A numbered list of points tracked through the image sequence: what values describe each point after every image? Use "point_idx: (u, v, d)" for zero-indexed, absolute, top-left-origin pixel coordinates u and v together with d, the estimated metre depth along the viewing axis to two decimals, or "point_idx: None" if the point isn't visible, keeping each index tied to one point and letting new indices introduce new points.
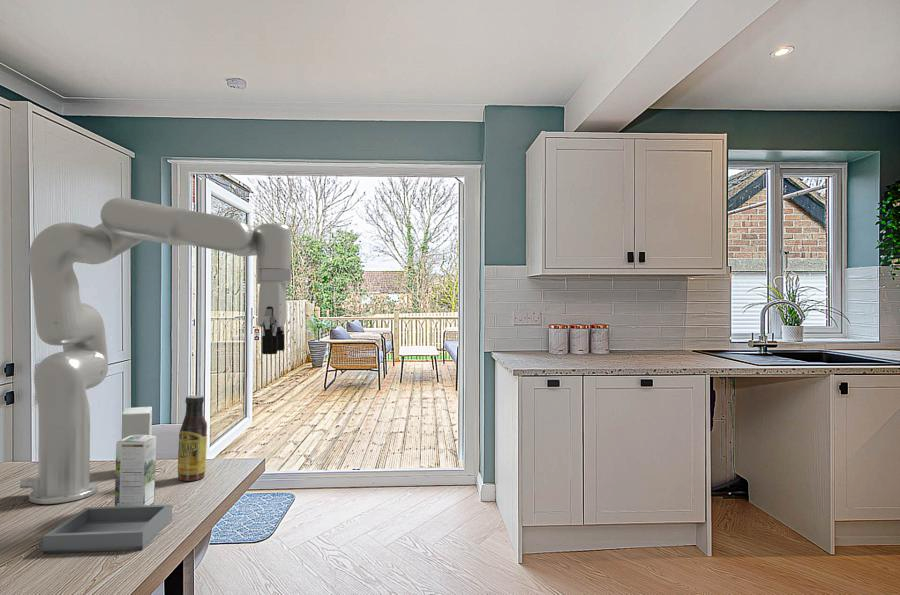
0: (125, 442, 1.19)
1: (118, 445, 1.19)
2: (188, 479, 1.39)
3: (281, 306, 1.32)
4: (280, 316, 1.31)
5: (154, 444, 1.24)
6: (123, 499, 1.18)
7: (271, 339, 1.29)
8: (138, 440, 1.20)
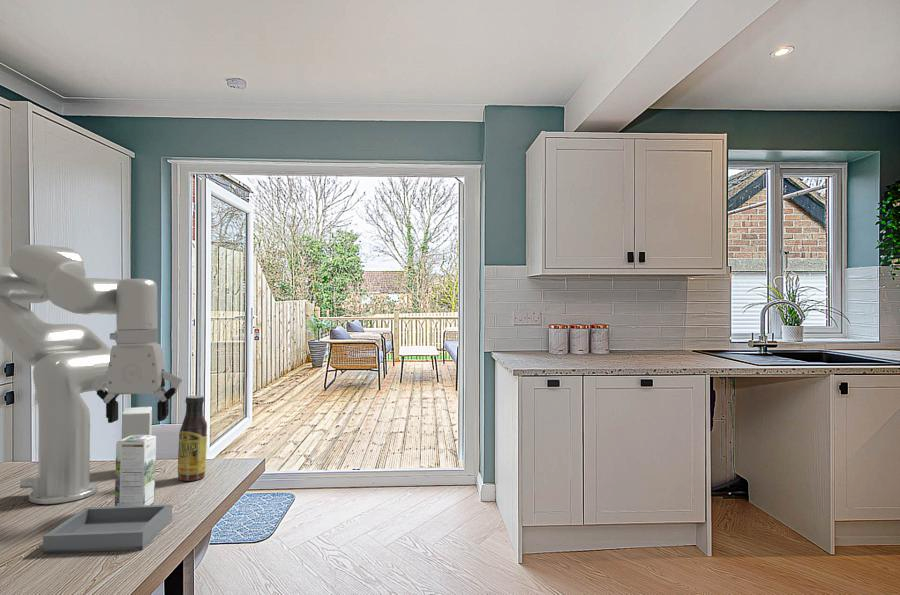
0: (125, 442, 1.19)
1: (118, 445, 1.19)
2: (188, 479, 1.39)
3: None
4: None
5: (154, 444, 1.24)
6: (123, 499, 1.18)
7: (168, 403, 1.23)
8: (138, 440, 1.20)
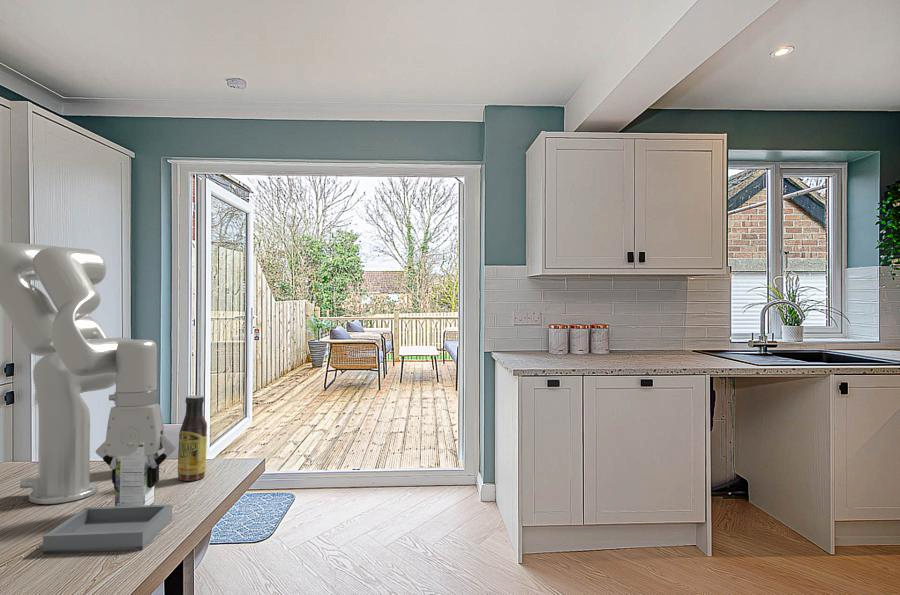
0: None
1: None
2: (188, 479, 1.39)
3: None
4: None
5: None
6: (123, 499, 1.18)
7: (158, 469, 1.22)
8: None
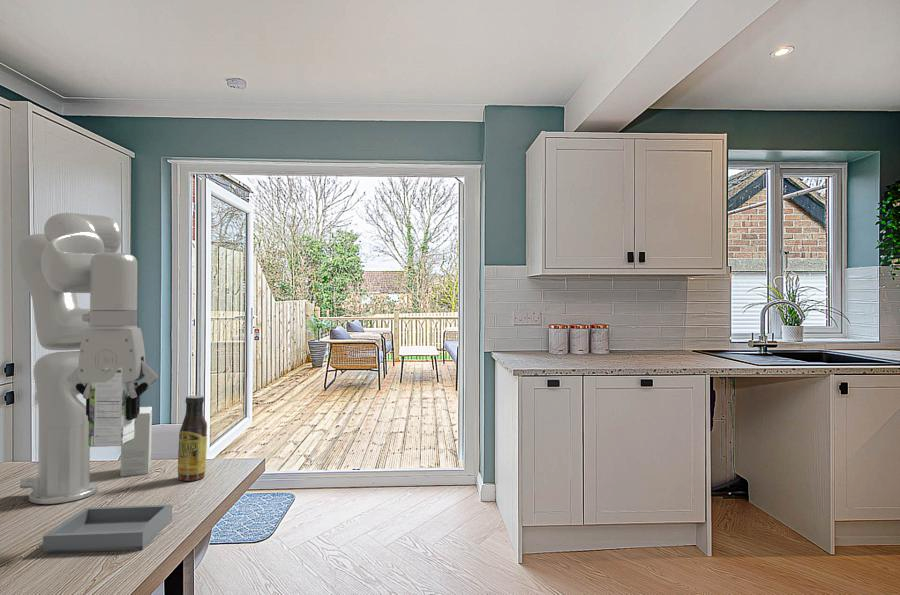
0: None
1: None
2: (188, 479, 1.39)
3: None
4: None
5: None
6: (98, 431, 1.04)
7: (139, 400, 1.08)
8: None
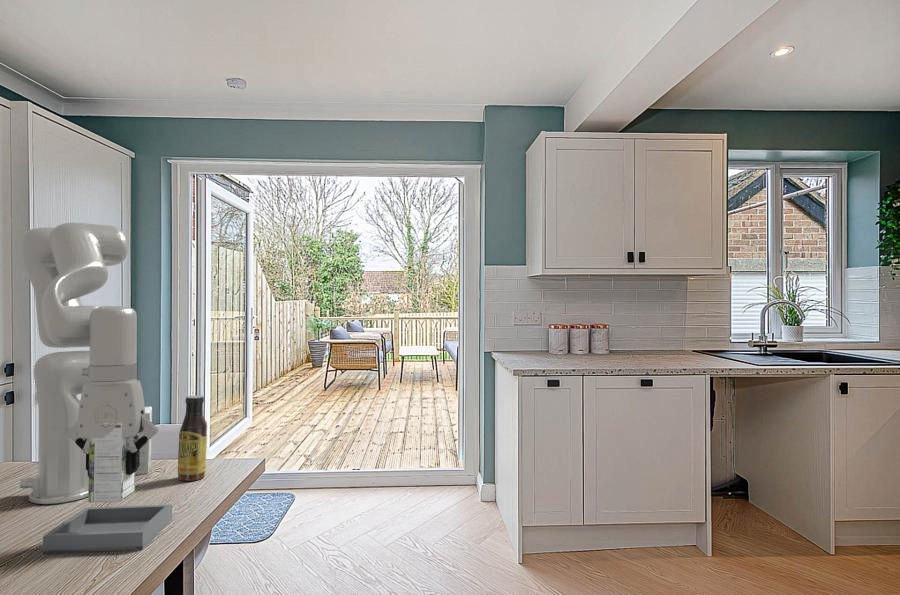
0: None
1: None
2: (188, 479, 1.39)
3: None
4: None
5: None
6: (98, 487, 1.04)
7: (139, 453, 1.08)
8: None
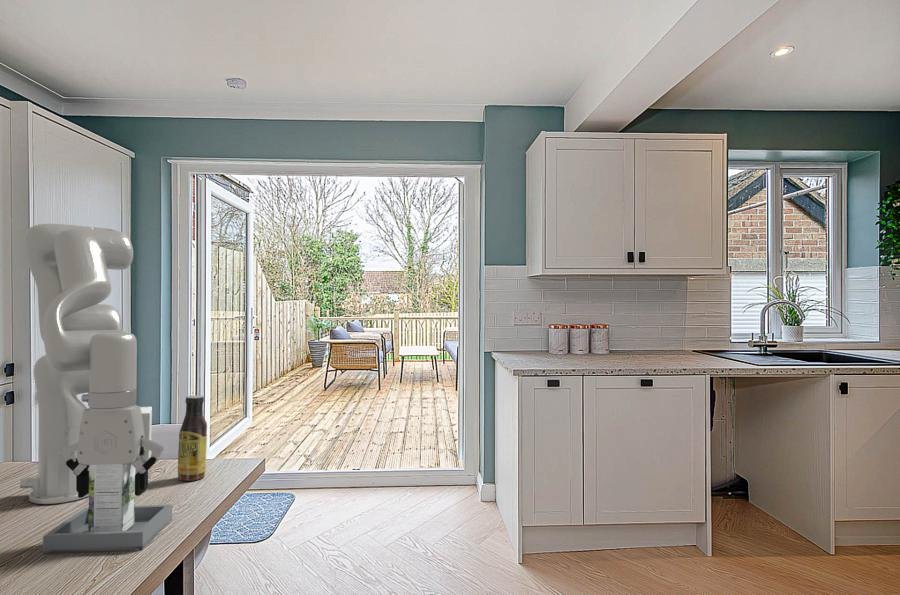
0: None
1: None
2: (188, 479, 1.39)
3: None
4: None
5: None
6: (98, 522, 1.04)
7: (147, 474, 1.08)
8: None
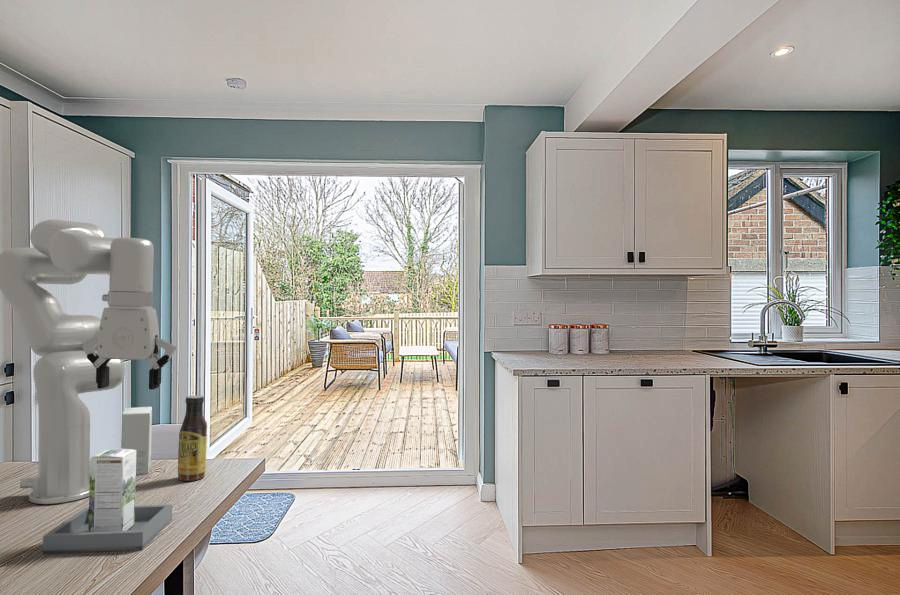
0: (100, 458, 1.04)
1: (92, 461, 1.04)
2: (188, 479, 1.39)
3: None
4: None
5: (134, 459, 1.09)
6: (98, 522, 1.04)
7: (161, 371, 1.16)
8: (115, 455, 1.05)
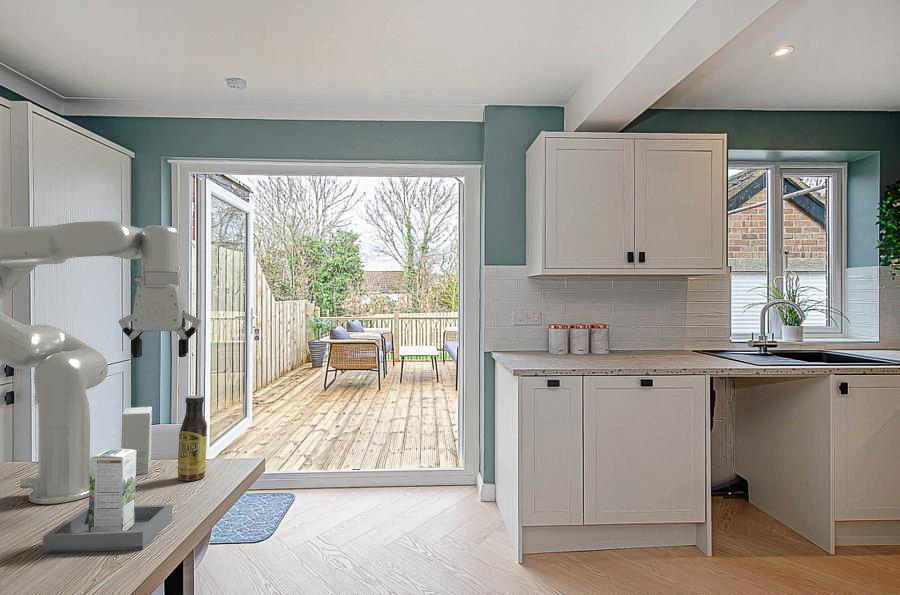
0: (100, 458, 1.04)
1: (92, 461, 1.04)
2: (188, 479, 1.39)
3: None
4: None
5: (134, 459, 1.09)
6: (98, 522, 1.04)
7: None
8: (115, 455, 1.05)
